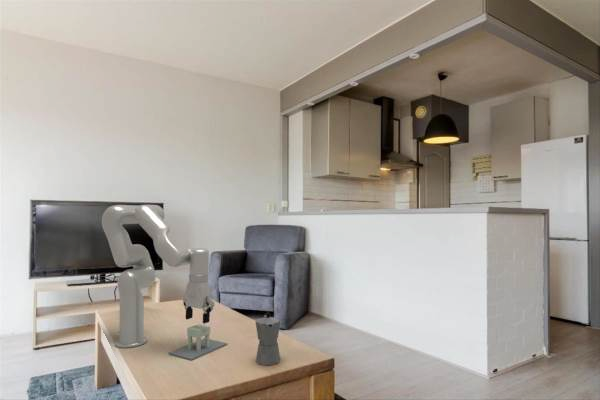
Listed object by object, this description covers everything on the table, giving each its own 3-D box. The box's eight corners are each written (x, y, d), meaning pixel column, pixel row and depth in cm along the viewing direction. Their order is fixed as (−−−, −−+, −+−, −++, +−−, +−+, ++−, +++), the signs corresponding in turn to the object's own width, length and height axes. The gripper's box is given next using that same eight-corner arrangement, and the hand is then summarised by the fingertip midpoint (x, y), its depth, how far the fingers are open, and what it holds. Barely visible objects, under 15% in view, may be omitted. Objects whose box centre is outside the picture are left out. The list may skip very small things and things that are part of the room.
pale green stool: (187, 348, 152) (187, 327, 153) (198, 344, 158) (198, 323, 158) (198, 351, 149) (198, 330, 149) (210, 346, 155) (210, 326, 155)
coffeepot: (283, 366, 135) (283, 316, 136) (257, 369, 133) (257, 318, 134) (276, 351, 150) (276, 306, 151) (253, 353, 148) (253, 307, 149)
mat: (168, 354, 148) (168, 352, 148) (205, 339, 165) (205, 338, 165) (191, 360, 142) (191, 359, 142) (227, 344, 159) (227, 343, 159)
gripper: (177, 277, 156) (175, 319, 155) (207, 282, 147) (206, 326, 146) (190, 275, 162) (189, 315, 162) (220, 279, 153) (219, 322, 153)
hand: (197, 320), depth 154 cm, fingers open, 9 cm apart
